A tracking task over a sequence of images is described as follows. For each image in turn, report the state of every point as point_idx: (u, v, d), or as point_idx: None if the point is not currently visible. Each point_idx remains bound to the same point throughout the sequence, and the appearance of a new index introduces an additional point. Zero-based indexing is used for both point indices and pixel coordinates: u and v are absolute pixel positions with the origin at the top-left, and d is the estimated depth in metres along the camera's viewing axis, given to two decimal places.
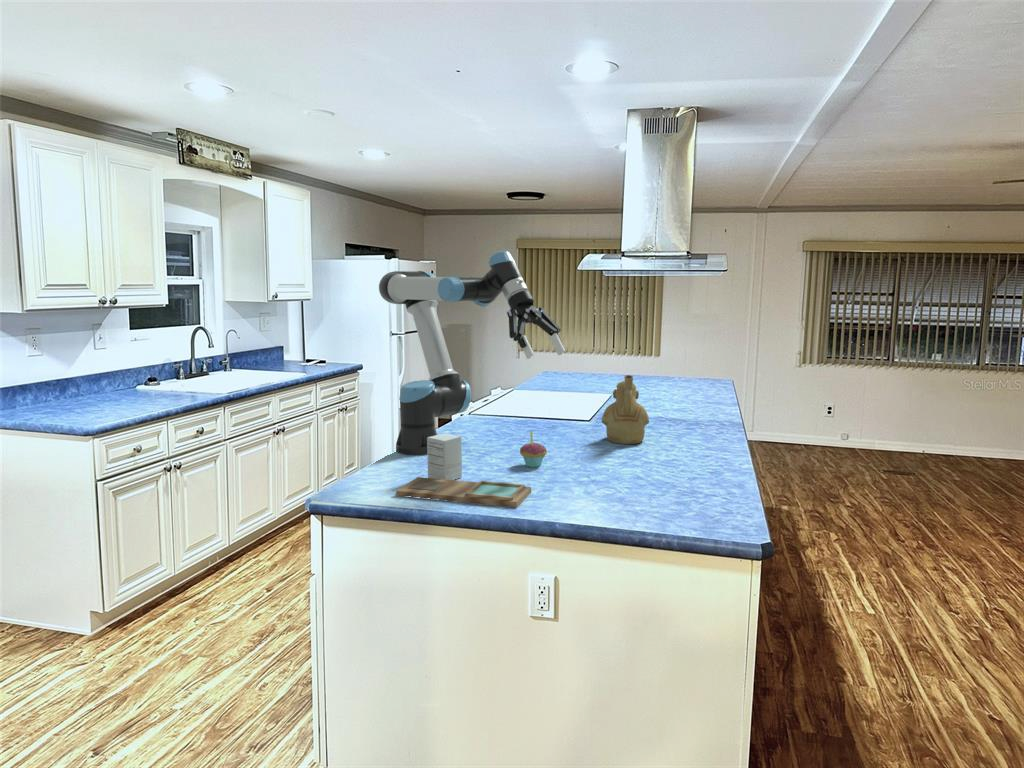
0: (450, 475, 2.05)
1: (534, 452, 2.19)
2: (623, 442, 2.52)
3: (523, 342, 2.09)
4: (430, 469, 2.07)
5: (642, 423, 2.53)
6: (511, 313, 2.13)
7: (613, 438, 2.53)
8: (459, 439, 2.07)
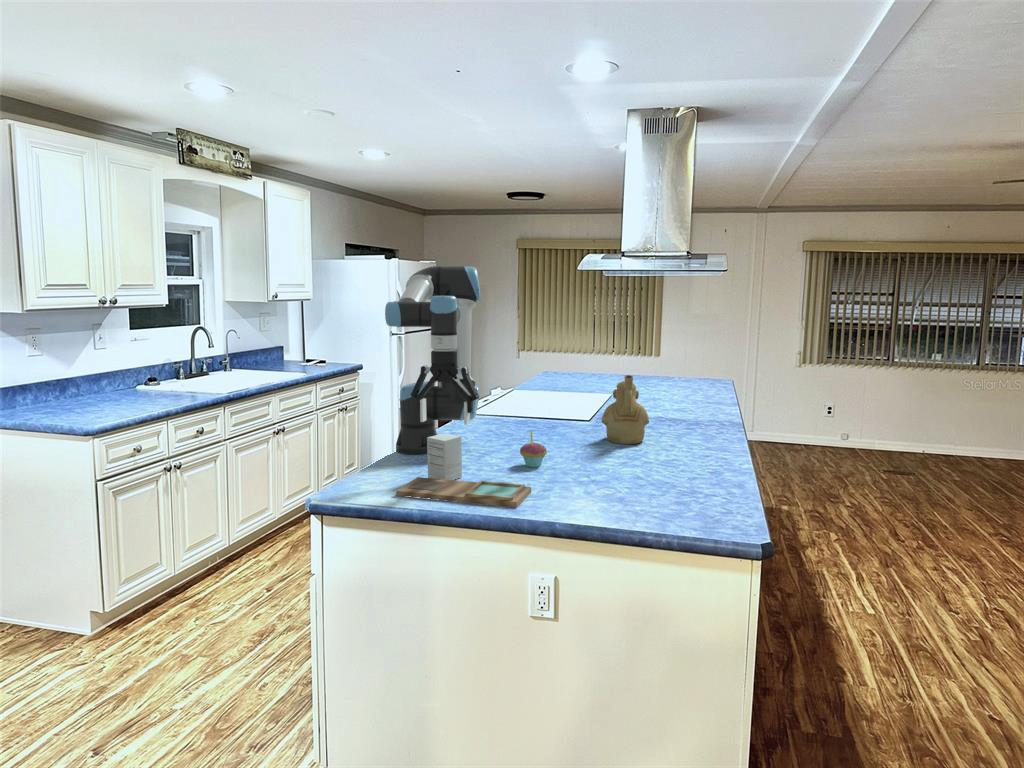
0: (450, 475, 2.05)
1: (534, 452, 2.19)
2: (623, 442, 2.52)
3: (419, 406, 2.07)
4: (430, 469, 2.07)
5: (642, 423, 2.53)
6: None
7: (613, 438, 2.53)
8: (459, 439, 2.07)
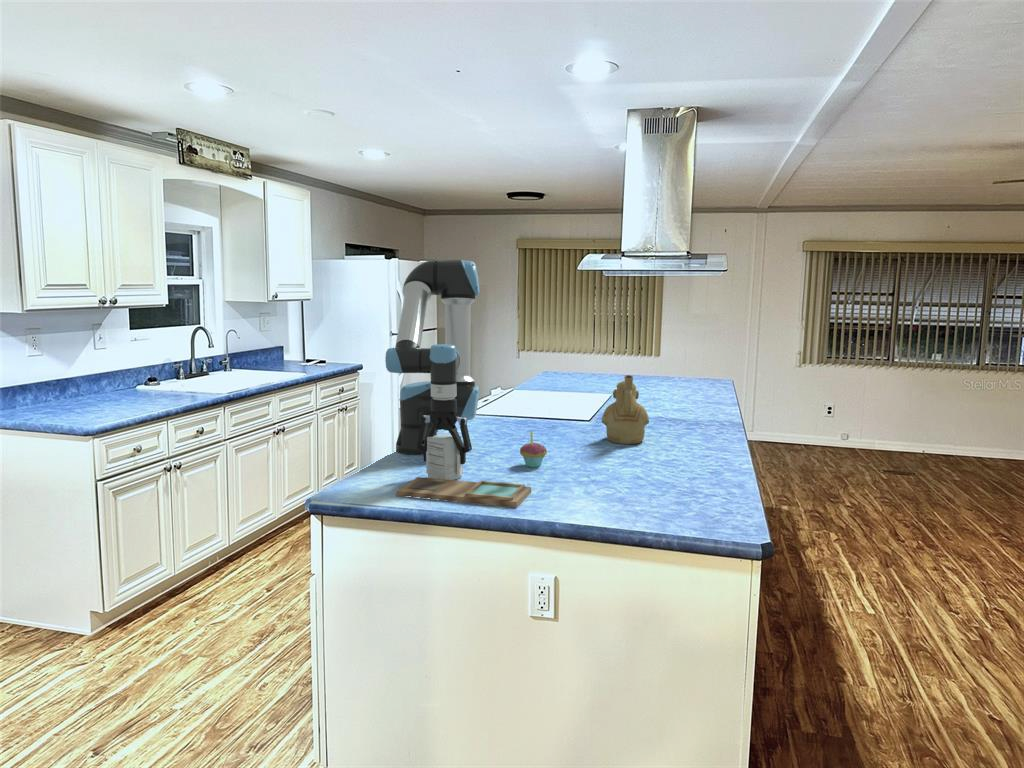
0: (450, 474, 2.05)
1: (534, 452, 2.19)
2: (623, 442, 2.52)
3: (425, 457, 2.09)
4: (430, 468, 2.07)
5: (642, 423, 2.53)
6: None
7: (613, 438, 2.53)
8: None
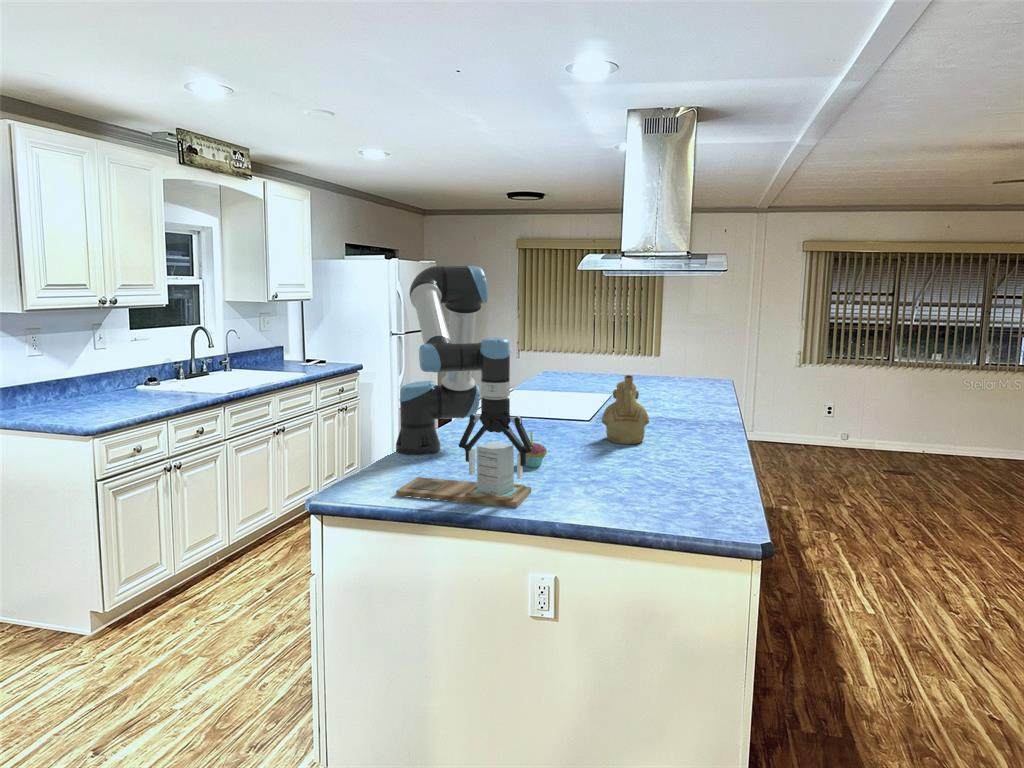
0: (503, 487, 1.87)
1: (534, 452, 2.19)
2: (623, 442, 2.52)
3: (467, 457, 1.91)
4: (481, 481, 1.88)
5: (642, 423, 2.53)
6: None
7: (613, 438, 2.53)
8: (512, 448, 1.89)
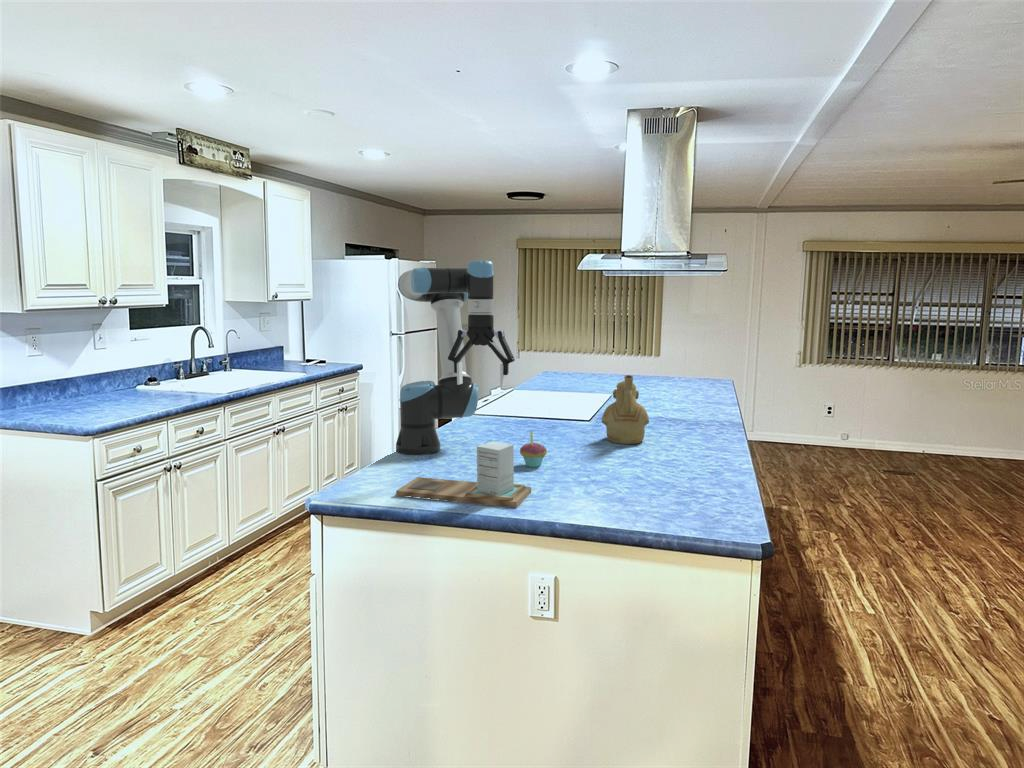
0: (503, 487, 1.87)
1: (534, 452, 2.19)
2: (623, 442, 2.52)
3: (455, 369, 2.13)
4: (481, 481, 1.88)
5: (642, 423, 2.53)
6: None
7: (613, 438, 2.53)
8: (511, 448, 1.89)
